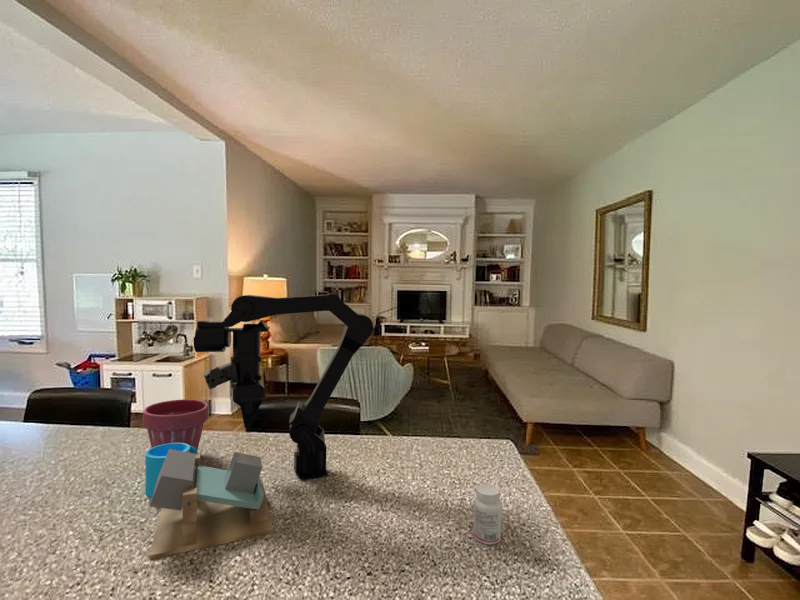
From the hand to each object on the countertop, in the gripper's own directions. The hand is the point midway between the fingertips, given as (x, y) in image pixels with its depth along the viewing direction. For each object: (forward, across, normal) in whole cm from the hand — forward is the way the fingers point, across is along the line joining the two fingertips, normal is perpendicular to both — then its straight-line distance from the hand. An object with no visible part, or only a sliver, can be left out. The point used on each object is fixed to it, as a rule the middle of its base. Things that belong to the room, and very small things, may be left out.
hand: (246, 421), depth 92 cm
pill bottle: (+13, +39, +37) cm, 55 cm away
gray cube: (+7, +15, -2) cm, 17 cm away
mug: (+13, -2, -14) cm, 19 cm away
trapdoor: (+8, +15, -8) cm, 19 cm away
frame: (+12, +15, -6) cm, 20 cm away
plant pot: (+13, -17, -15) cm, 26 cm away
